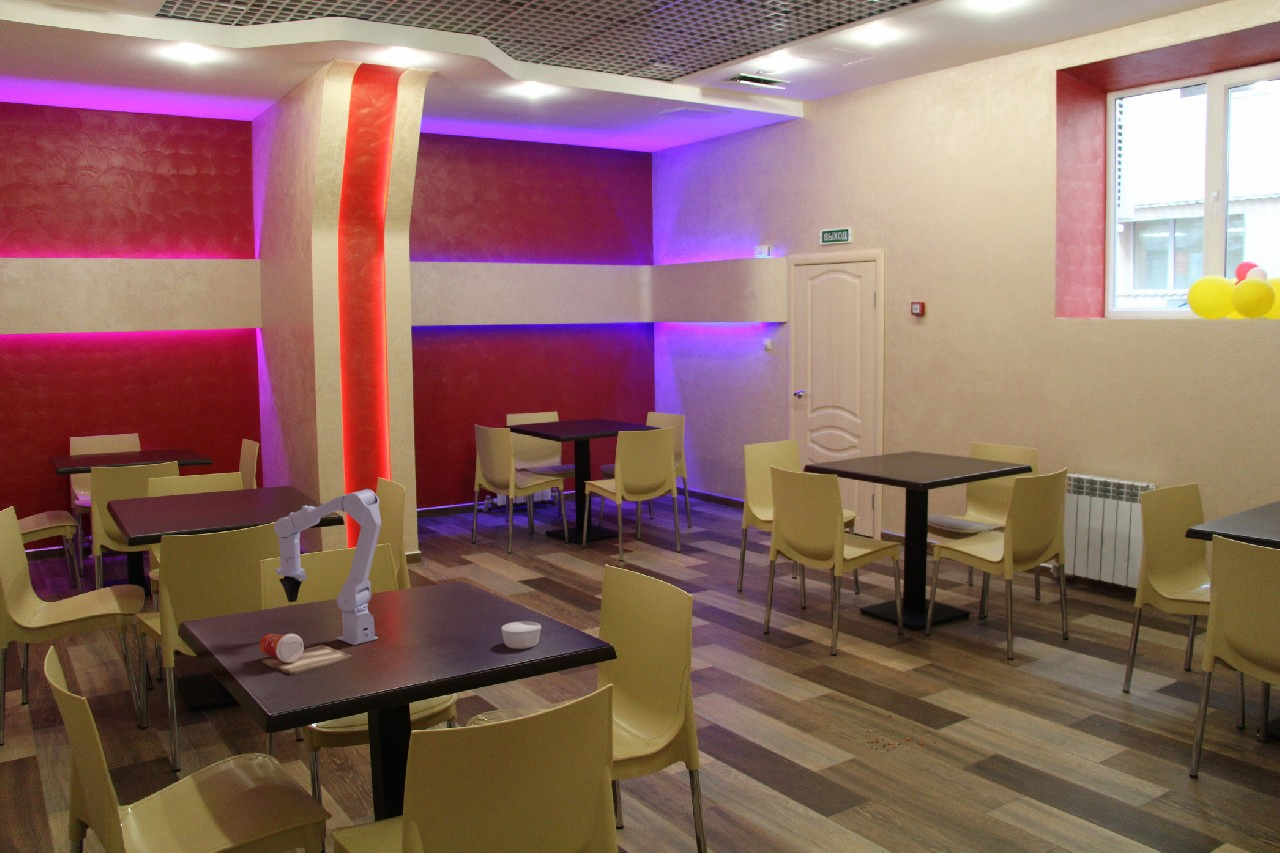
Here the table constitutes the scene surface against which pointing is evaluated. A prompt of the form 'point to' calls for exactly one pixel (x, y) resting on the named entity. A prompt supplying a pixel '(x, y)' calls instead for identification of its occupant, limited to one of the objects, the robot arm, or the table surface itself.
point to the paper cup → (282, 646)
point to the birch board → (309, 660)
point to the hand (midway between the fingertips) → (292, 601)
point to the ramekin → (521, 634)
